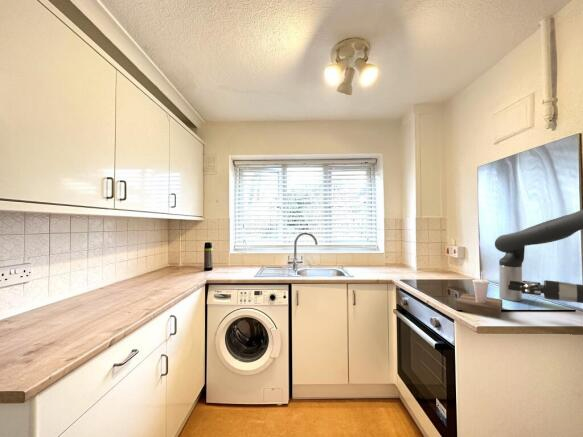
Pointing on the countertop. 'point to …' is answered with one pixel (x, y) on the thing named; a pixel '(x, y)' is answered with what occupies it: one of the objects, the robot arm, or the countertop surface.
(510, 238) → the robot arm
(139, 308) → the countertop surface
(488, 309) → the plinth
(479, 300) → the smoothie
